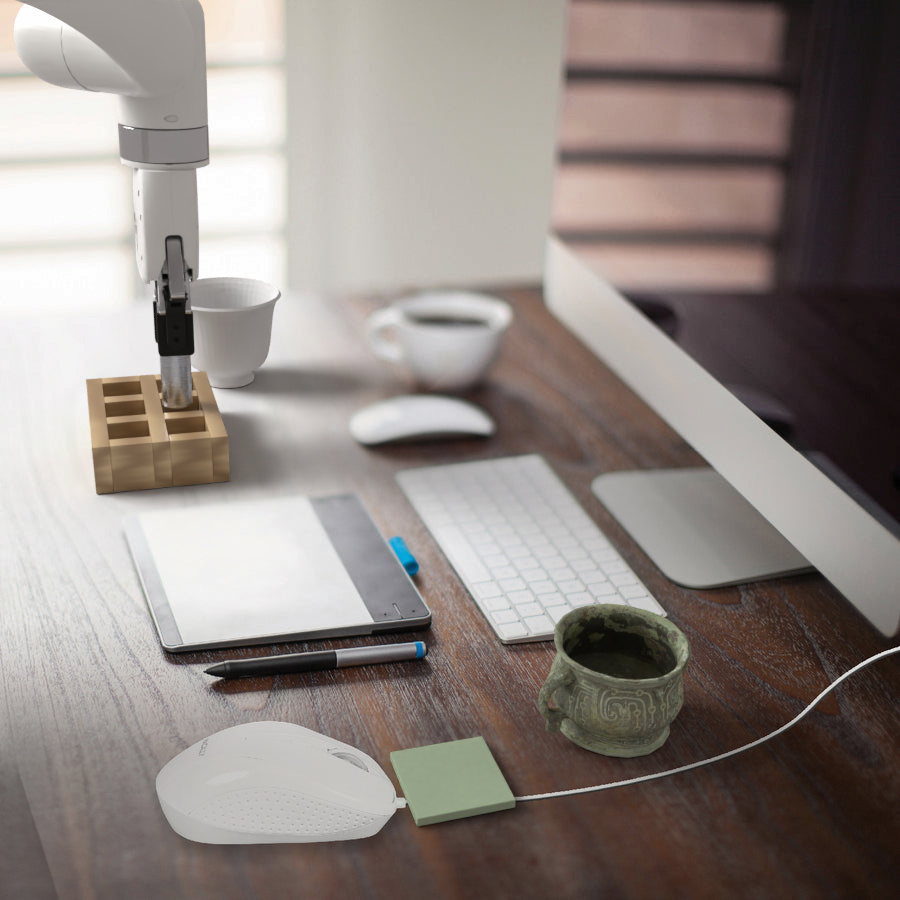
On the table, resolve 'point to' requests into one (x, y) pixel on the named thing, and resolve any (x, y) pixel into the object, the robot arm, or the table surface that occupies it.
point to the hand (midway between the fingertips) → (174, 346)
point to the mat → (451, 781)
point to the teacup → (231, 327)
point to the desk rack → (154, 435)
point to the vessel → (615, 679)
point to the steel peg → (175, 378)
